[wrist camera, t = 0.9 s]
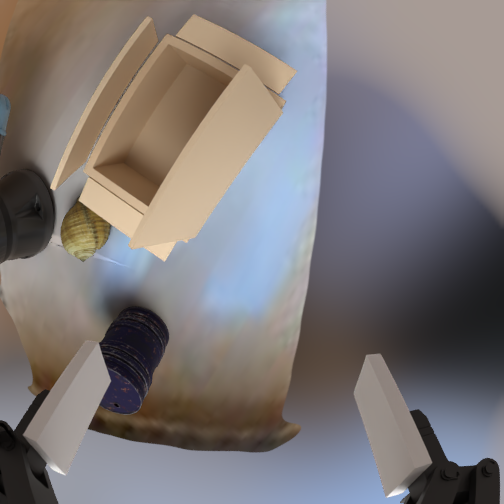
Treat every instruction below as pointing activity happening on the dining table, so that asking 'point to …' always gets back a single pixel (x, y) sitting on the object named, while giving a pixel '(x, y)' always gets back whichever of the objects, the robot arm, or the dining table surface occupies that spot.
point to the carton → (167, 118)
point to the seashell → (83, 231)
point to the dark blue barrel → (132, 357)
